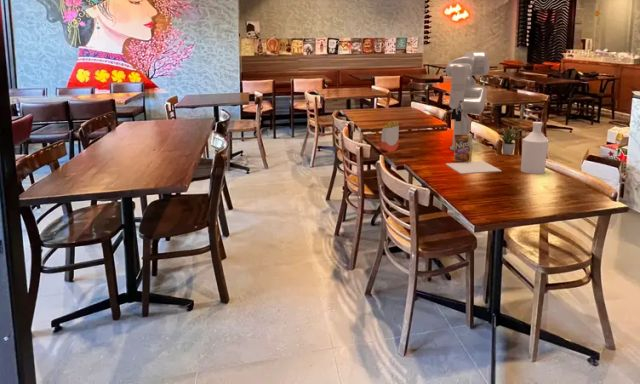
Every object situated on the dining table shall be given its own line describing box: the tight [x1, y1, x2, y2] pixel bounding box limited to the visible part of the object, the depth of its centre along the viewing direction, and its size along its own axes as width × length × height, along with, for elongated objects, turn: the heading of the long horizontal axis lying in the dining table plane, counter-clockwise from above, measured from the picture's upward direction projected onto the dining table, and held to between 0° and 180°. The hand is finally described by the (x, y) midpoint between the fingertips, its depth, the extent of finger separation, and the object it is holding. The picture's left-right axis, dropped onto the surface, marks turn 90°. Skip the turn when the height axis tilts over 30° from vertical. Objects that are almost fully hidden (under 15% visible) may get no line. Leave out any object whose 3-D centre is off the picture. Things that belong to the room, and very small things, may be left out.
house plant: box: [499, 126, 522, 155], centre depth 296 cm, size 14×14×16 cm
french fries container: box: [380, 121, 400, 153], centre depth 310 cm, size 5×11×18 cm, turn 130°
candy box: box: [453, 133, 473, 163], centre depth 281 cm, size 9×4×15 cm, turn 56°
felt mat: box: [445, 160, 502, 175], centre depth 270 cm, size 20×22×1 cm
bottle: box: [520, 121, 549, 175], centre depth 259 cm, size 12×12×25 cm
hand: (455, 120), depth 288 cm, fingers open, 5 cm apart
